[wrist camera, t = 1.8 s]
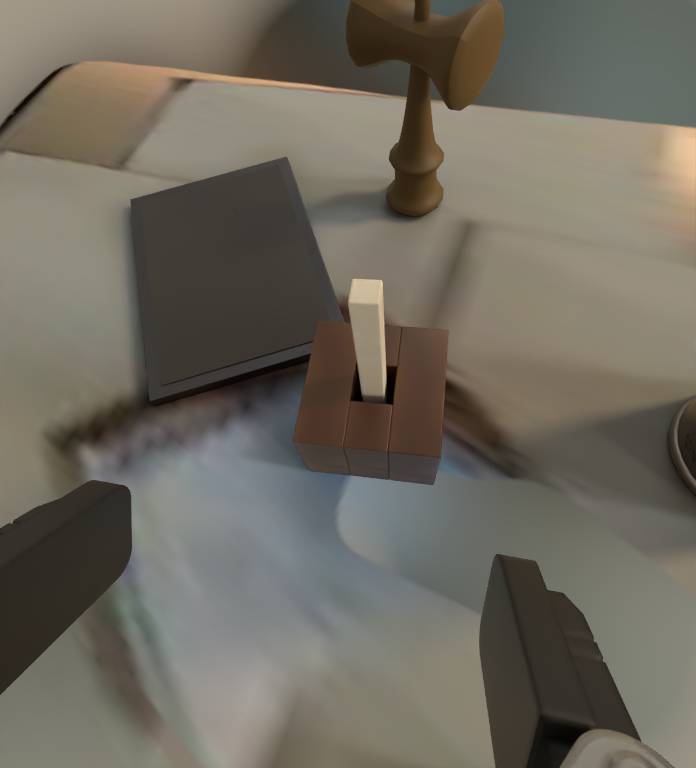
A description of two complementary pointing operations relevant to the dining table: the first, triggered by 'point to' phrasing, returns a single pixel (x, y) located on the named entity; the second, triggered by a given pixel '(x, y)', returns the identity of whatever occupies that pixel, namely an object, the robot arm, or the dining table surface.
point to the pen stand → (374, 406)
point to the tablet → (227, 280)
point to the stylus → (369, 337)
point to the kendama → (425, 78)
